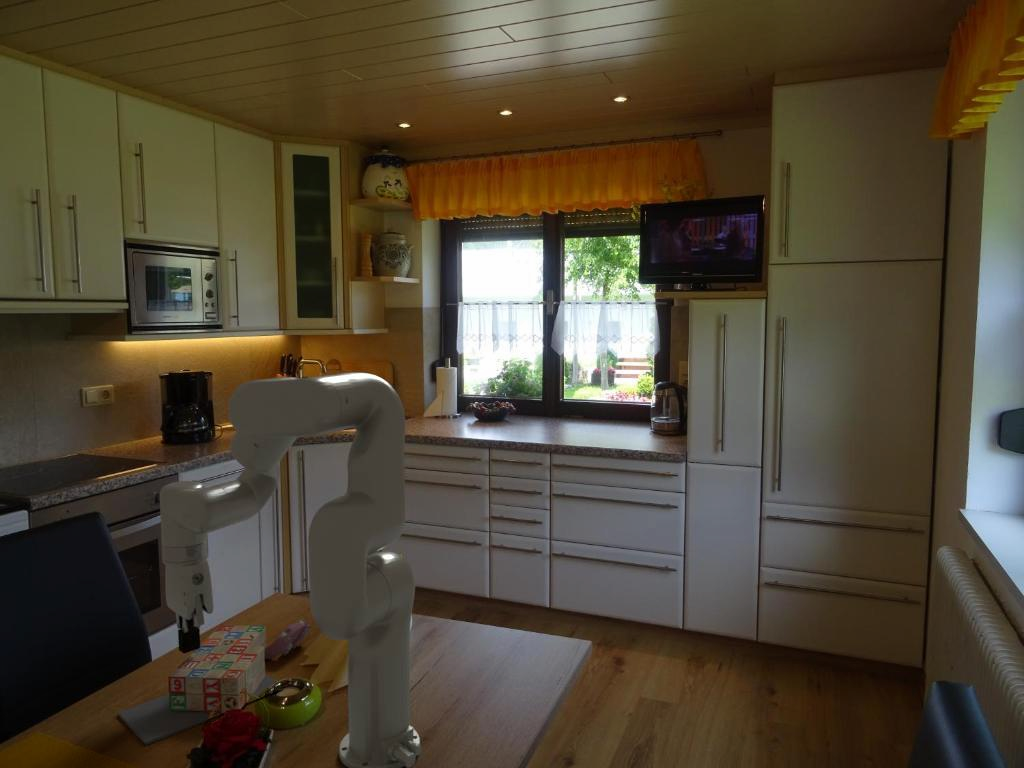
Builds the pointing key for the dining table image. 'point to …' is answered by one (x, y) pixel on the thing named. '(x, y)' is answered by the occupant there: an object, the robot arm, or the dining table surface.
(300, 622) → the purple toy animal
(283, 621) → the dining table surface
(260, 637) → the stack of blocks
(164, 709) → the mat
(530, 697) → the dining table surface
